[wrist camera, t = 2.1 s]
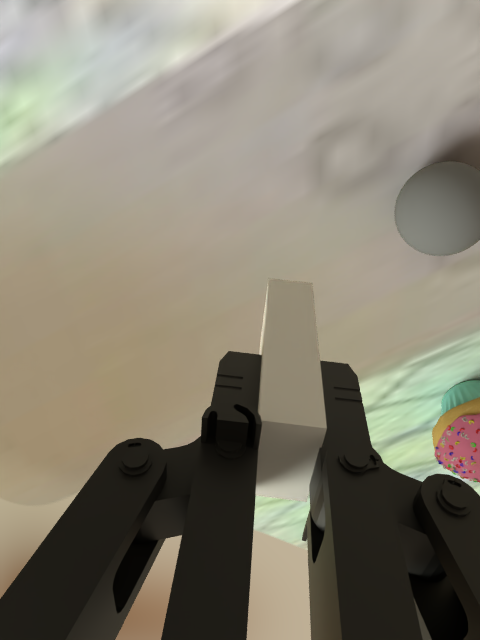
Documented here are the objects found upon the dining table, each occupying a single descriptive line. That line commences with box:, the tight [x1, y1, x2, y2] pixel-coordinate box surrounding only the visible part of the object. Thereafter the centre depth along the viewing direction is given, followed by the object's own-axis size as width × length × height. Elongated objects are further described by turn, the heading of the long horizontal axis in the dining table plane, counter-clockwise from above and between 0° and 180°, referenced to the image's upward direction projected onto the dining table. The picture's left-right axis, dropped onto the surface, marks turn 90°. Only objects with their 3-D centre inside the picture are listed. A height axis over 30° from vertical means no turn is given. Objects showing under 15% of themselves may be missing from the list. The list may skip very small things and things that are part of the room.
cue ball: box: [395, 161, 480, 256], centre depth 26 cm, size 6×6×6 cm
